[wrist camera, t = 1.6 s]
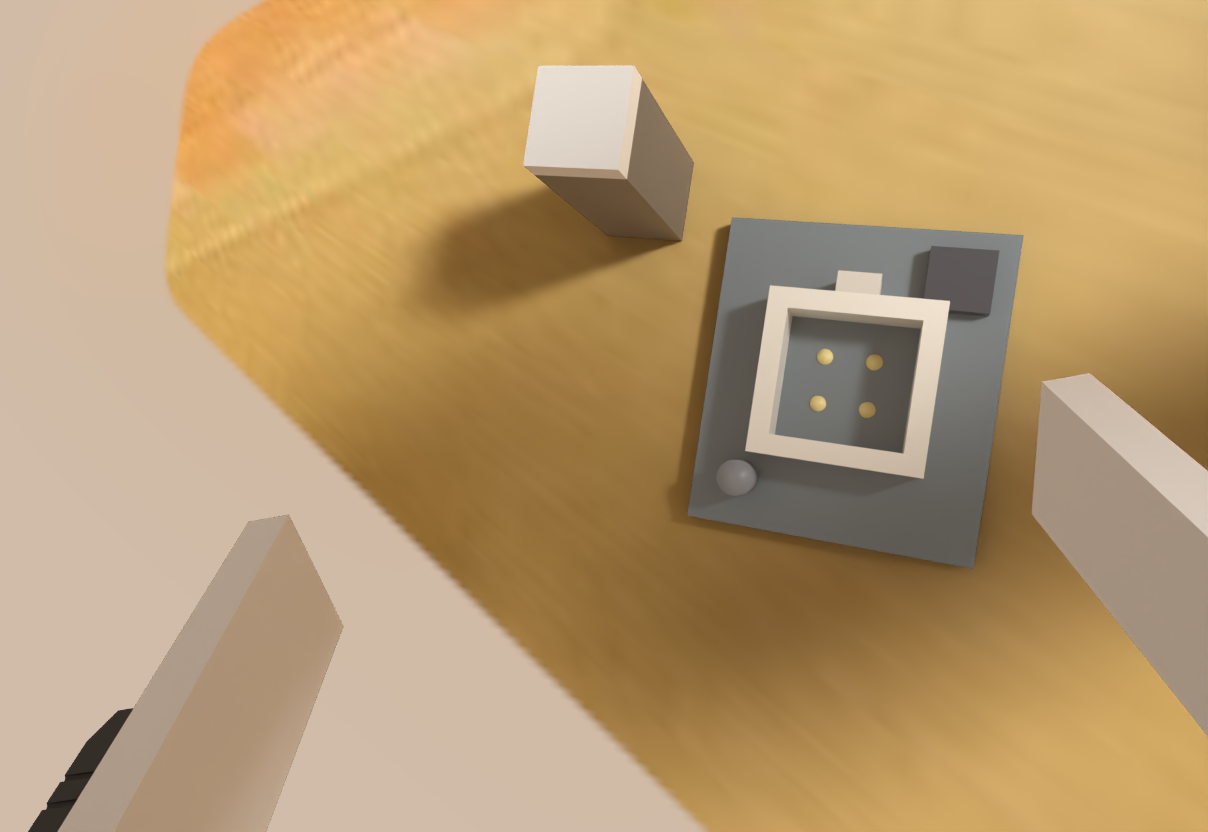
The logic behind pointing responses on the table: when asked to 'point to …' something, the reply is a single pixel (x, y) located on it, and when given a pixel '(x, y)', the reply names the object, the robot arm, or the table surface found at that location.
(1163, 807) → the table surface
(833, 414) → the board
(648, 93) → the tall square peg
